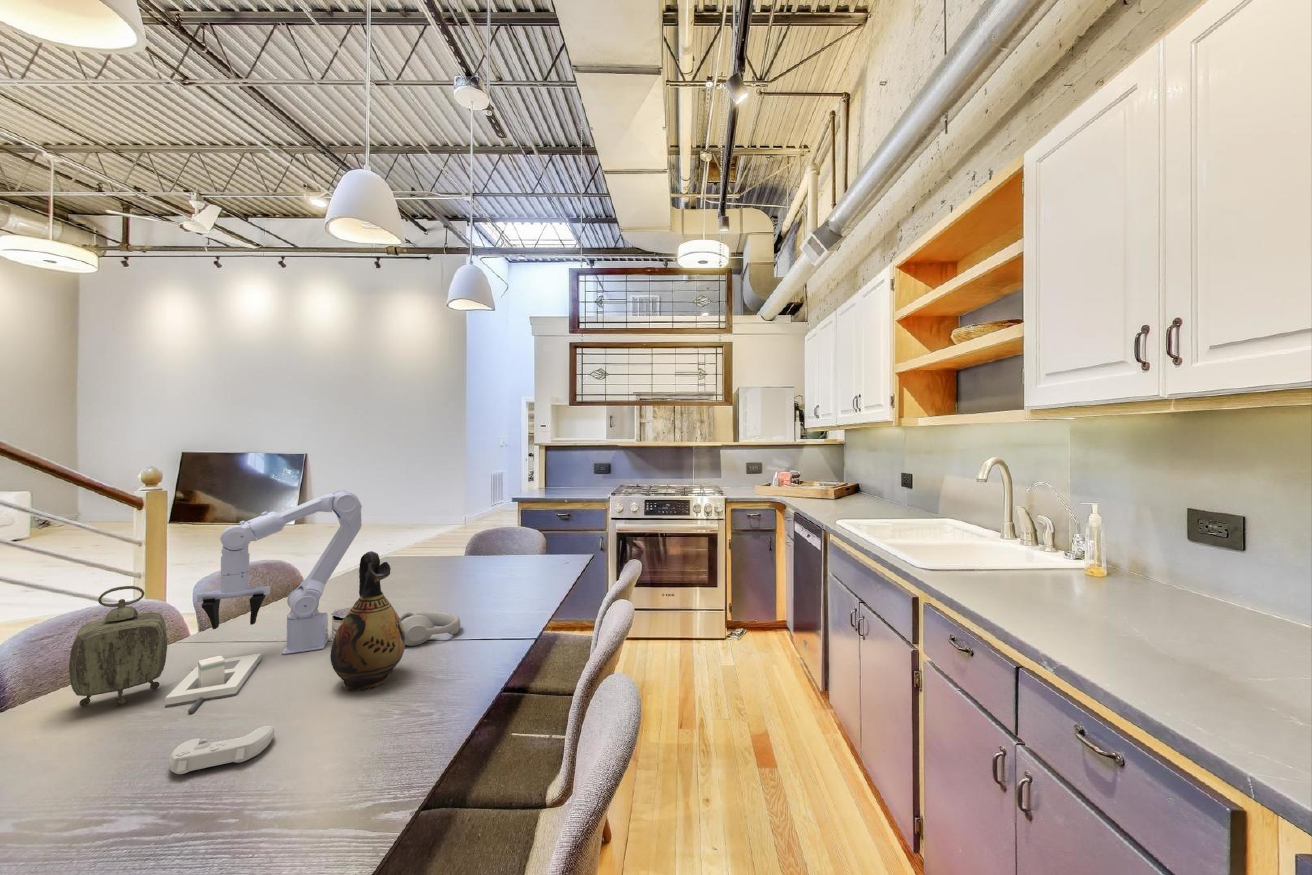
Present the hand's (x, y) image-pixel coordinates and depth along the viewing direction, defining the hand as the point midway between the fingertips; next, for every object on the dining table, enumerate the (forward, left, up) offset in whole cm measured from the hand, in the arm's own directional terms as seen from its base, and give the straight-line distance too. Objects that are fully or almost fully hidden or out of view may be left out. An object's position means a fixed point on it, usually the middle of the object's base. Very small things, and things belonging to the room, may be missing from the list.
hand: (234, 625), depth 131 cm
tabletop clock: (+16, +15, -10) cm, 24 cm away
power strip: (0, +15, -9) cm, 18 cm away
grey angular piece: (-28, +8, -10) cm, 31 cm away
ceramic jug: (-32, +26, -10) cm, 42 cm away
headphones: (-45, +1, -10) cm, 46 cm away
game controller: (-11, +50, -10) cm, 52 cm away
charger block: (0, +16, -9) cm, 18 cm away
